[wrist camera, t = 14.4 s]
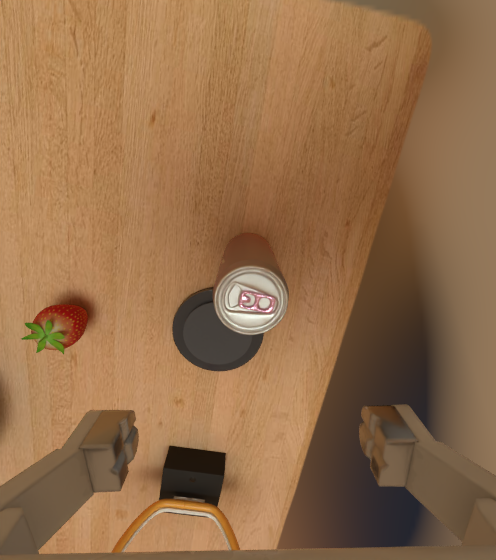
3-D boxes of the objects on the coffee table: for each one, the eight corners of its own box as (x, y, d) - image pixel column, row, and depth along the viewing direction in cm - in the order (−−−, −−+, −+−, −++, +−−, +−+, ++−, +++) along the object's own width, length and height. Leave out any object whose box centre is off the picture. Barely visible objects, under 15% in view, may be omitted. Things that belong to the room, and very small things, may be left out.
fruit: (78, 336, 39) (38, 372, 31) (49, 307, 38) (1, 337, 30) (108, 315, 38) (75, 347, 31) (80, 284, 37) (38, 310, 29)
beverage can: (265, 283, 37) (279, 344, 23) (219, 273, 37) (204, 329, 22) (277, 238, 35) (300, 273, 21) (229, 227, 35) (219, 255, 21)
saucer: (263, 286, 37) (264, 290, 36) (263, 367, 41) (263, 373, 40) (169, 288, 37) (166, 292, 36) (177, 368, 41) (175, 374, 39)
